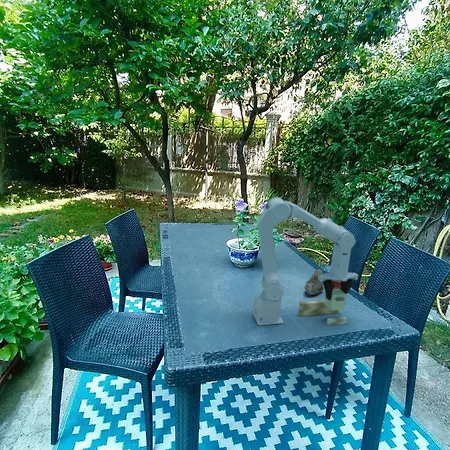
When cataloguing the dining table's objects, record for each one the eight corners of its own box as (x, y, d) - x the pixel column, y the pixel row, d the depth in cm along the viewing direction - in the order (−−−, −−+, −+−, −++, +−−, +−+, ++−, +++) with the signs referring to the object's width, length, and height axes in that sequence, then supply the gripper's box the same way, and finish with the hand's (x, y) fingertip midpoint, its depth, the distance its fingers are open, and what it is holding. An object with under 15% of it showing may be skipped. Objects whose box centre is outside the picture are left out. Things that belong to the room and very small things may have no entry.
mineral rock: (308, 298, 123) (310, 276, 121) (292, 288, 133) (294, 267, 131) (331, 294, 129) (334, 272, 126) (315, 284, 138) (317, 264, 136)
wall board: (308, 327, 103) (310, 314, 101) (298, 314, 111) (299, 302, 110) (349, 323, 106) (351, 311, 105) (336, 311, 114) (337, 299, 113)
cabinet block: (332, 311, 103) (334, 296, 102) (324, 304, 108) (326, 289, 107) (345, 310, 104) (347, 295, 103) (337, 303, 109) (339, 288, 108)
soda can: (331, 295, 127) (335, 269, 124) (344, 299, 124) (347, 273, 121) (327, 300, 123) (330, 273, 120) (339, 304, 120) (343, 276, 117)
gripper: (327, 268, 97) (322, 305, 101) (365, 266, 100) (360, 302, 103) (316, 260, 104) (312, 295, 107) (353, 259, 107) (348, 293, 110)
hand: (335, 298), depth 106 cm, fingers closed on cabinet block, 5 cm apart
